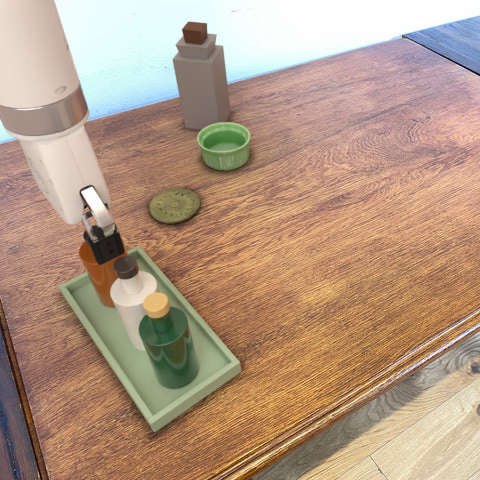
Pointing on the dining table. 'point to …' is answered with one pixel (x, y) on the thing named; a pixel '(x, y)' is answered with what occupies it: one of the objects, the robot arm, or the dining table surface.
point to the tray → (137, 362)
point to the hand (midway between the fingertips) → (92, 233)
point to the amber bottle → (99, 271)
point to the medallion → (174, 205)
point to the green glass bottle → (168, 342)
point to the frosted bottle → (131, 296)
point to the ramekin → (224, 145)
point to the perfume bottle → (201, 77)
